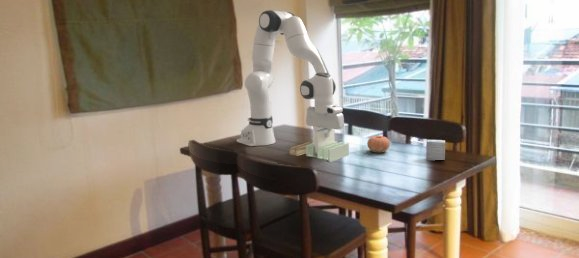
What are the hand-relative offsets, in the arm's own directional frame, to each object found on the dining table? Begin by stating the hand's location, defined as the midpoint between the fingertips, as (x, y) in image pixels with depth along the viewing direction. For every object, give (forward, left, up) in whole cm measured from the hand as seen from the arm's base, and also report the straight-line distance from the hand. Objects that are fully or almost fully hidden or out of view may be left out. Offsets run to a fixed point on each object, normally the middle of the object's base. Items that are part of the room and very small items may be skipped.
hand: (324, 136), depth 223 cm
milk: (-12, +13, -10) cm, 20 cm away
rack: (+2, 0, -9) cm, 10 cm away
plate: (0, 0, -7) cm, 7 cm away
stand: (-11, -2, -9) cm, 15 cm away
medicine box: (+45, +23, -10) cm, 51 cm away
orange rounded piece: (+17, +21, -10) cm, 28 cm away
